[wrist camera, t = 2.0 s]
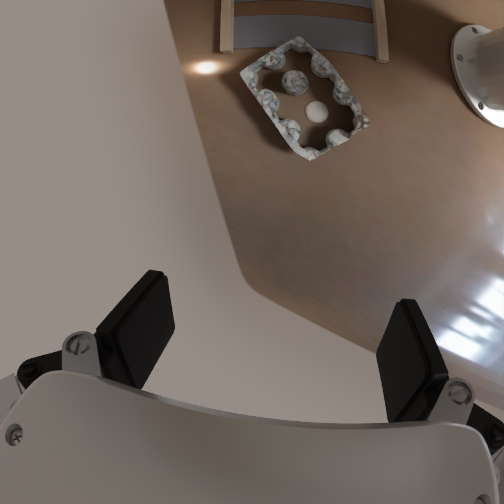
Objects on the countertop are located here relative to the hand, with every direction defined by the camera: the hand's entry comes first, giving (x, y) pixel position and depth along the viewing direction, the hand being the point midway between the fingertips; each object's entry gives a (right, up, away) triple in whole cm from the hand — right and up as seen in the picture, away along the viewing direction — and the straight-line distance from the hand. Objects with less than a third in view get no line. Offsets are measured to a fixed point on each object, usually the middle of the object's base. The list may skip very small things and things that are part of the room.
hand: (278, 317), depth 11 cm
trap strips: (+4, +26, +8) cm, 28 cm away
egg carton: (+4, +17, +13) cm, 22 cm away
